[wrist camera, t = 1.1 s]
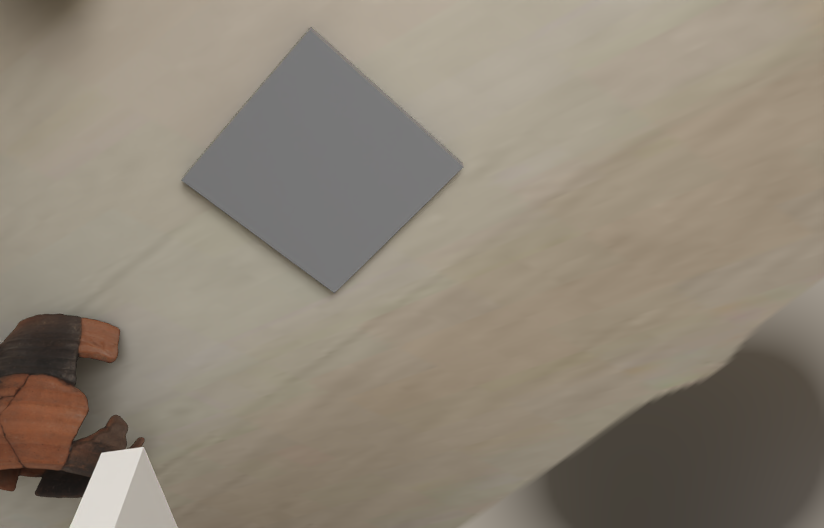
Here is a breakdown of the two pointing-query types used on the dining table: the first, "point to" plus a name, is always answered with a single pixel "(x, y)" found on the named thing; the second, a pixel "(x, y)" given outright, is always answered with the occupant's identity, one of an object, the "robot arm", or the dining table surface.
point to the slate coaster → (322, 164)
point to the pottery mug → (53, 404)
